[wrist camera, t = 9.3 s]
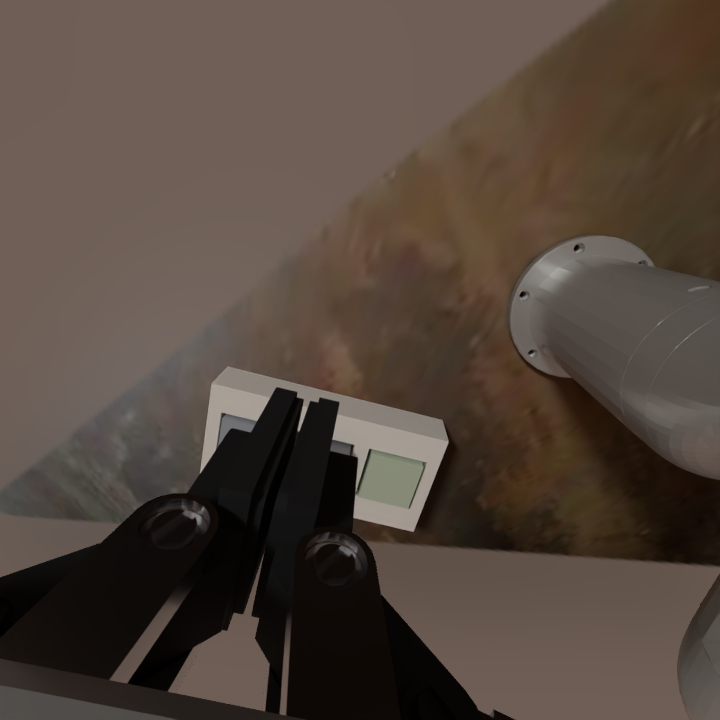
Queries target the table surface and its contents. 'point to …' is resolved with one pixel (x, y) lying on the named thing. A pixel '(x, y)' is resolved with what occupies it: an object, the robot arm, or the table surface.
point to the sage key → (389, 478)
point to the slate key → (235, 425)
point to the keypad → (340, 434)
